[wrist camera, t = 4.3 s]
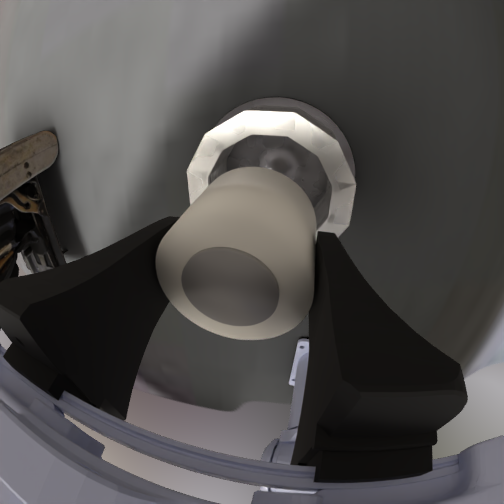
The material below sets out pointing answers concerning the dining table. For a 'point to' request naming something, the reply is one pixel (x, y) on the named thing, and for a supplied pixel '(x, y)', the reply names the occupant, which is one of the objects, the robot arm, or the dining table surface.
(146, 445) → the robot arm
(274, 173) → the beige short cylinder
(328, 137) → the lens barrel
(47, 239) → the vintage camera
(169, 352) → the dining table surface
